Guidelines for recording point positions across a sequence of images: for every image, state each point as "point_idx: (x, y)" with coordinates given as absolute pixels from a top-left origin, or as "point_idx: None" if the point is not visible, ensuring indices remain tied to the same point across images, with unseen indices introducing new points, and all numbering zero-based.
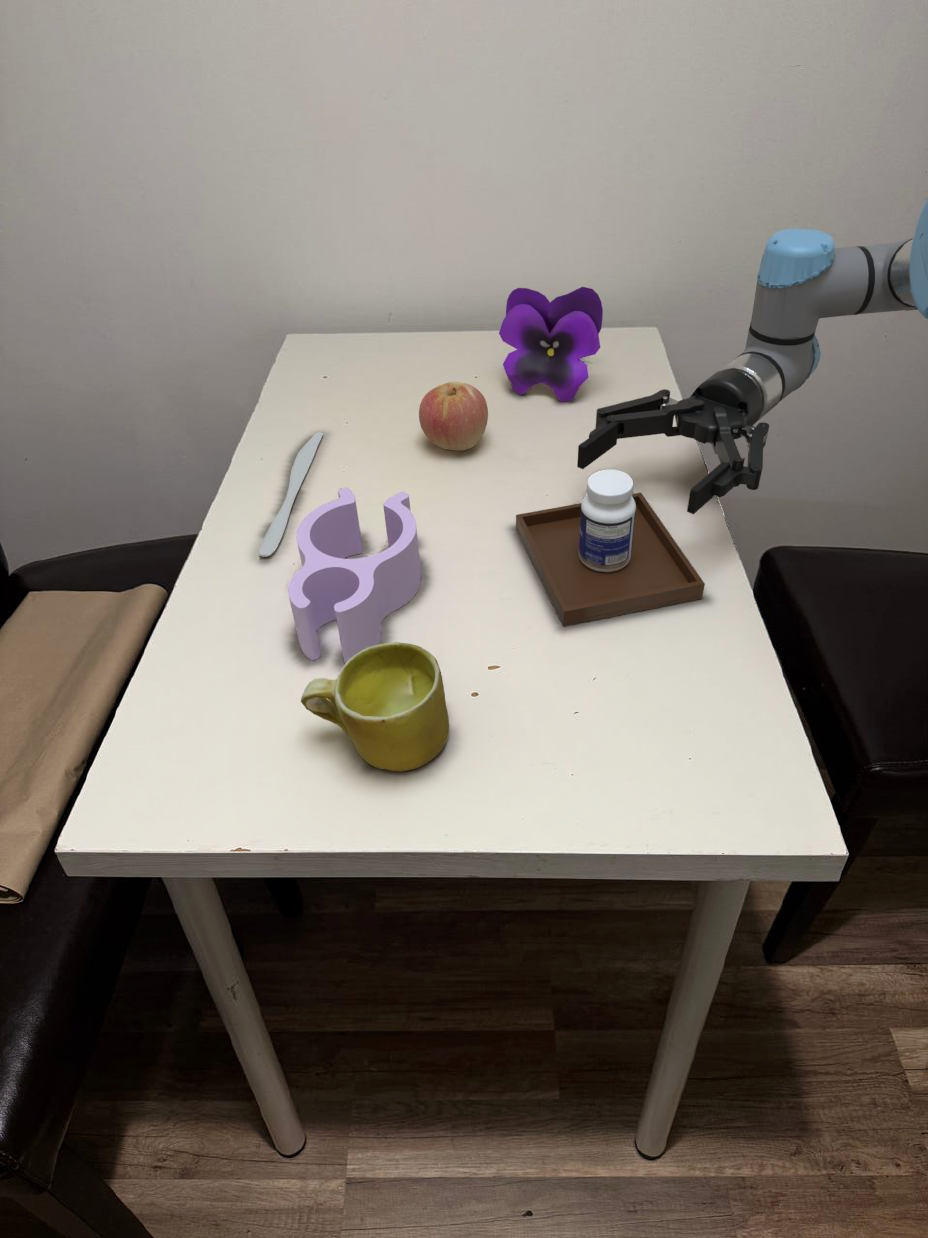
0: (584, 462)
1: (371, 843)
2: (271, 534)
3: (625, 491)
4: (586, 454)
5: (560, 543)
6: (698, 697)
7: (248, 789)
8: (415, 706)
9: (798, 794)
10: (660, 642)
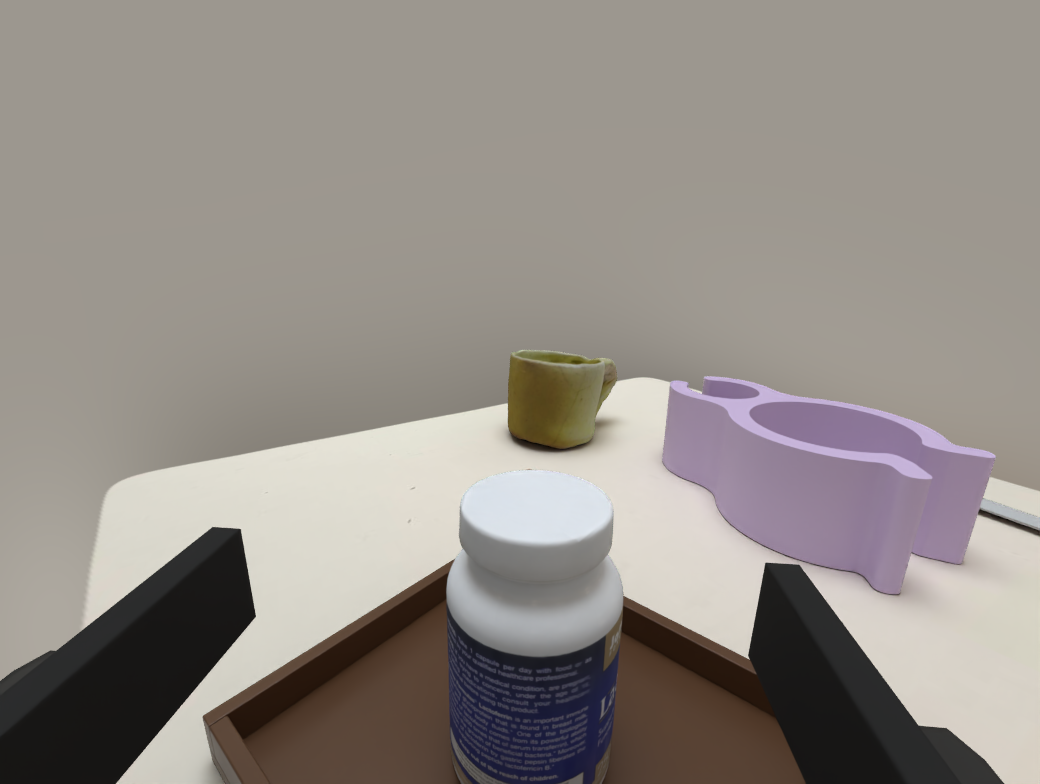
0: (755, 636)
1: (505, 404)
2: (1006, 507)
3: (470, 489)
4: (766, 617)
5: (673, 733)
6: (248, 548)
7: (604, 400)
8: (515, 352)
9: (129, 502)
10: (320, 602)
